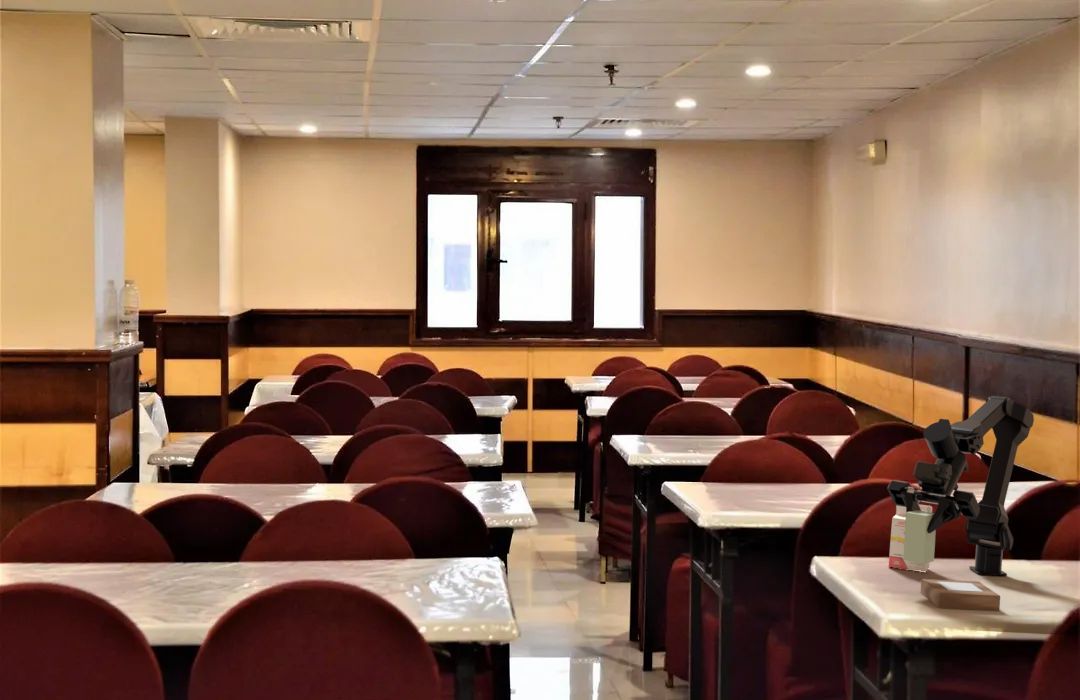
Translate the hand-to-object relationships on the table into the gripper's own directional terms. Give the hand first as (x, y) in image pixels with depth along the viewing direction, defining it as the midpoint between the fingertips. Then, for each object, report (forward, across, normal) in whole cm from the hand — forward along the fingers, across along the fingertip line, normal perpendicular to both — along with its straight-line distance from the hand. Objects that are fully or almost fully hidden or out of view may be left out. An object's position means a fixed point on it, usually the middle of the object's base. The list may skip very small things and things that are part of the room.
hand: (917, 529), depth 251 cm
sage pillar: (+4, 0, +6) cm, 7 cm away
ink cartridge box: (-6, -13, +25) cm, 29 cm away
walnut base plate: (+8, +9, +11) cm, 16 cm away
